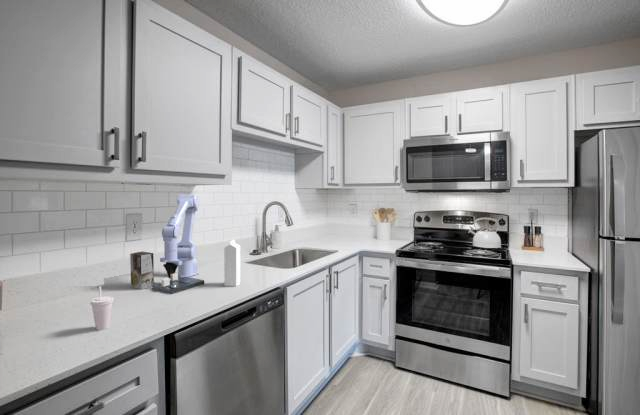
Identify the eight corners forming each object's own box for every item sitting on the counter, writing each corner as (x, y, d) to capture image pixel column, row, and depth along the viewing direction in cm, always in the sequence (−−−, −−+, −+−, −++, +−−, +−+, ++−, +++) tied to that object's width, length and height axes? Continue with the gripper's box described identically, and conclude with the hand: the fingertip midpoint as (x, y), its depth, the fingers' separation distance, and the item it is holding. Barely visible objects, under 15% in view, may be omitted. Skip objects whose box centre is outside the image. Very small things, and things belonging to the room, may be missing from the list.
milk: (224, 286, 156) (223, 241, 155) (229, 282, 162) (228, 239, 161) (236, 286, 155) (236, 241, 154) (240, 283, 161) (240, 239, 160)
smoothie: (98, 323, 110) (97, 283, 110) (118, 323, 111) (117, 283, 110) (86, 332, 104) (85, 289, 103) (107, 331, 104) (106, 289, 104)
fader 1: (167, 284, 150) (167, 277, 149) (169, 285, 149) (169, 278, 149) (161, 286, 147) (161, 279, 147) (164, 286, 146) (164, 279, 146)
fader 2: (175, 279, 159) (175, 272, 159) (177, 279, 158) (177, 273, 158) (170, 280, 157) (170, 273, 156) (172, 280, 156) (172, 274, 156)
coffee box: (154, 286, 154) (154, 252, 154) (141, 289, 149) (140, 255, 148) (143, 283, 159) (143, 251, 158) (130, 286, 153) (129, 253, 153)
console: (185, 280, 165) (185, 274, 165) (204, 284, 158) (204, 277, 158) (152, 289, 150) (152, 282, 150) (171, 294, 143) (171, 287, 143)
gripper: (154, 250, 158) (154, 277, 159) (172, 253, 151) (173, 281, 151) (167, 248, 164) (167, 274, 165) (185, 251, 157) (186, 278, 157)
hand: (171, 277), depth 158 cm, fingers closed
